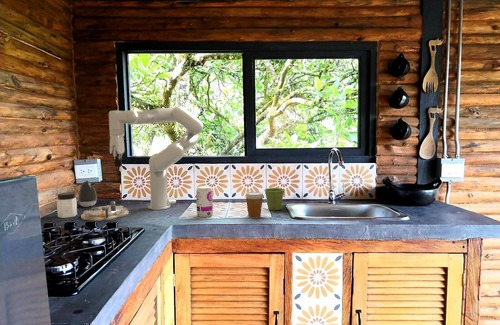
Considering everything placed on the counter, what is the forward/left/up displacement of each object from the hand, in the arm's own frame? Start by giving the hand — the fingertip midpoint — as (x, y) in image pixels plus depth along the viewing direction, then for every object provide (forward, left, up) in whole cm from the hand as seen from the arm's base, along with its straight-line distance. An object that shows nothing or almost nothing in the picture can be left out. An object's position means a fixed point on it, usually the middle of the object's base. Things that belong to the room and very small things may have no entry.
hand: (118, 166), depth 178 cm
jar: (+26, -1, -25) cm, 36 cm away
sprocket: (+8, +7, -24) cm, 26 cm away
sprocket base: (+8, +7, -25) cm, 27 cm away
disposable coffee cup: (-60, +48, -25) cm, 81 cm away
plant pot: (-77, +39, -25) cm, 90 cm away
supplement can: (-38, +34, -25) cm, 57 cm away
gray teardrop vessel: (+16, -23, -25) cm, 38 cm away
